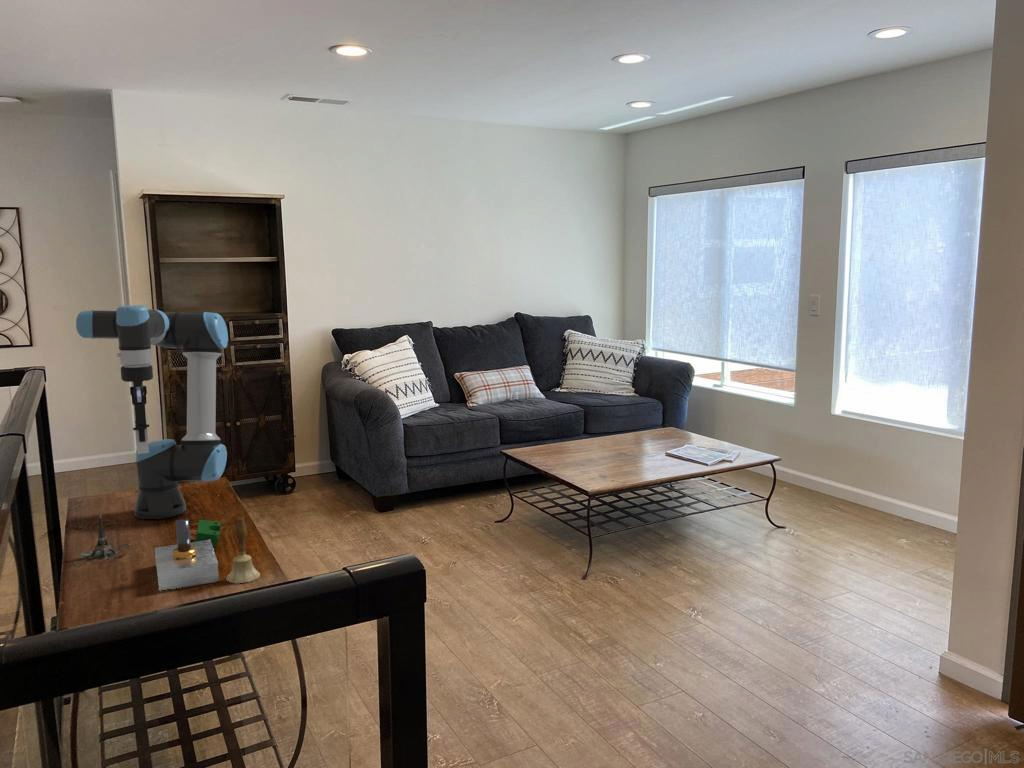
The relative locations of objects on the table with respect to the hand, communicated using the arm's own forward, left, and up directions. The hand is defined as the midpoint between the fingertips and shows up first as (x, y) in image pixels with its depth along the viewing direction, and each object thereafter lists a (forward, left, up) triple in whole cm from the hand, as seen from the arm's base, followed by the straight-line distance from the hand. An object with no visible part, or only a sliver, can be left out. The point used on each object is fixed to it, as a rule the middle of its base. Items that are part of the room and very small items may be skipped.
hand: (143, 452), depth 207 cm
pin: (+13, +8, -30) cm, 34 cm away
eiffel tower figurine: (-11, -12, -31) cm, 35 cm away
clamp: (-6, +15, -31) cm, 35 cm away
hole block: (+13, +8, -30) cm, 34 cm away
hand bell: (+22, +21, -31) cm, 43 cm away
